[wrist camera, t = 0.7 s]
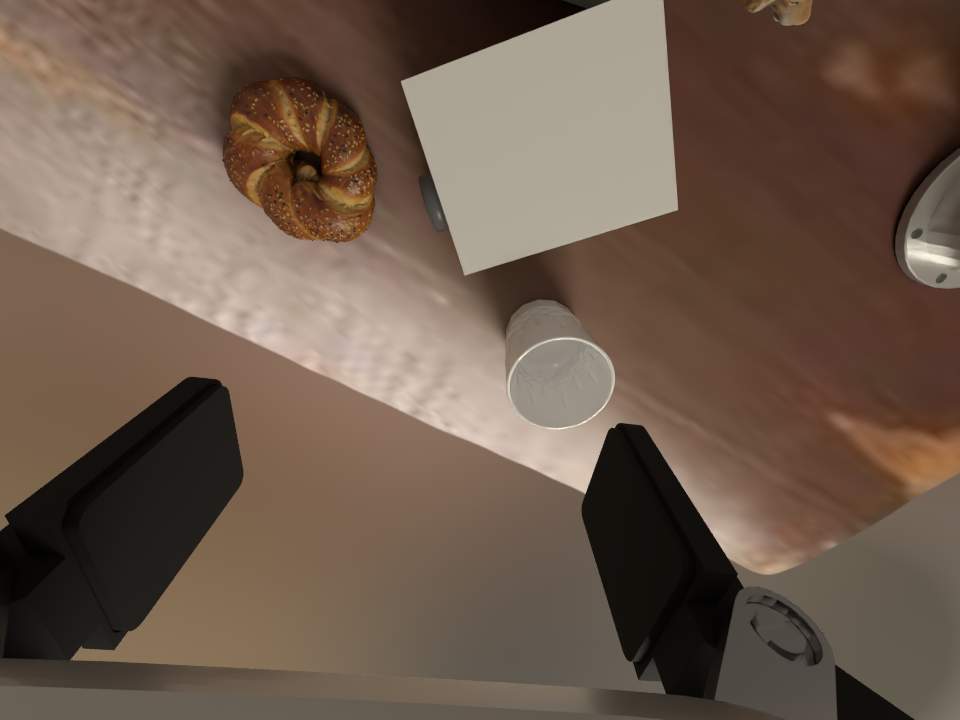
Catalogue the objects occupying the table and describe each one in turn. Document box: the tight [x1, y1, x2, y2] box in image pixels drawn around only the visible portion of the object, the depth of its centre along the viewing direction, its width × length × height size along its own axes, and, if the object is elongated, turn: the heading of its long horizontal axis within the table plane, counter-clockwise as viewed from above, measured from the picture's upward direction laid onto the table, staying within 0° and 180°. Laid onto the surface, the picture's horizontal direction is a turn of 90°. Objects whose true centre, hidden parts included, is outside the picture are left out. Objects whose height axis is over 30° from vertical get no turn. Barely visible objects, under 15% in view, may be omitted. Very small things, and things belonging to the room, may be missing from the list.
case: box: [401, 0, 678, 275], centre depth 27 cm, size 16×12×7 cm
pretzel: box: [223, 77, 377, 243], centre depth 29 cm, size 12×11×4 cm
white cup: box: [505, 299, 615, 429], centre depth 33 cm, size 8×8×10 cm
